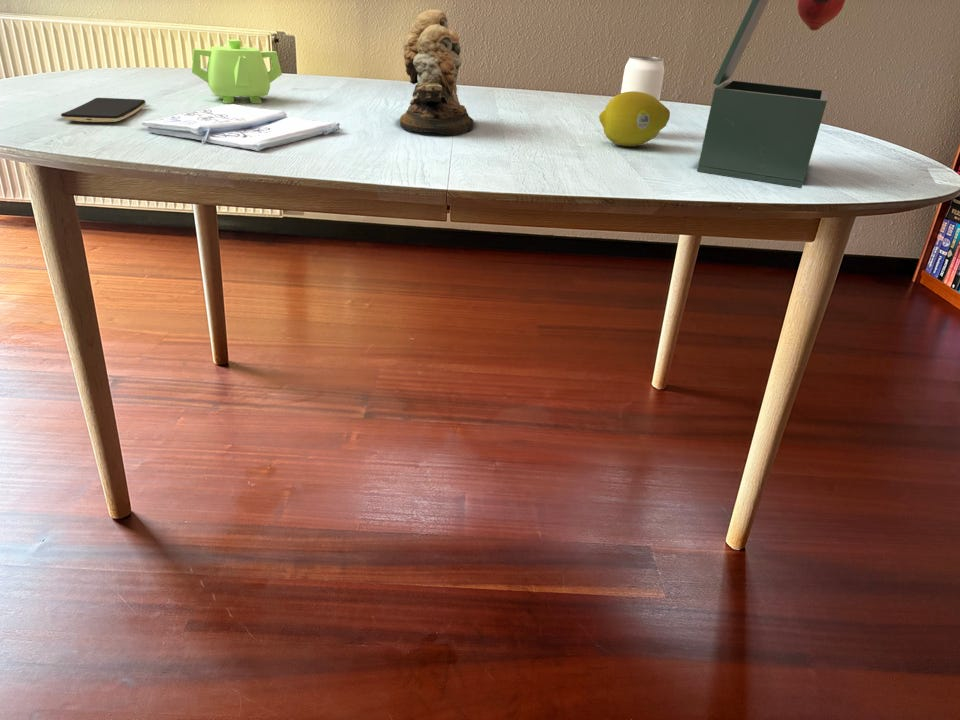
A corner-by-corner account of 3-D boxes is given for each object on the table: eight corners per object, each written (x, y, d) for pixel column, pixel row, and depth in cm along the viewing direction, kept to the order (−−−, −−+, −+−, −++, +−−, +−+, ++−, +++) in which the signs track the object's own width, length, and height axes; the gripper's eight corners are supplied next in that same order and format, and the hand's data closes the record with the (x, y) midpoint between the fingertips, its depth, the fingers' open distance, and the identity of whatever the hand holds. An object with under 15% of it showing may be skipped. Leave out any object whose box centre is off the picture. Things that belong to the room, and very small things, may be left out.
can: (608, 130, 118) (619, 54, 112) (640, 130, 120) (653, 56, 114) (626, 137, 113) (639, 59, 107) (660, 137, 115) (674, 60, 109)
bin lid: (784, -31, 92) (746, -45, 93) (776, -37, 81) (734, -53, 82) (731, 77, 100) (697, 63, 101) (718, 85, 89) (680, 69, 90)
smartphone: (59, 114, 95) (96, 97, 108) (61, 122, 95) (97, 104, 108) (116, 116, 96) (146, 99, 109) (117, 124, 96) (147, 106, 109)
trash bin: (805, 168, 100) (828, 90, 95) (801, 187, 89) (827, 100, 84) (711, 154, 105) (728, 79, 100) (696, 171, 94) (714, 88, 89)
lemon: (597, 148, 104) (605, 92, 100) (593, 138, 111) (600, 85, 107) (668, 154, 103) (679, 98, 100) (659, 143, 110) (669, 91, 106)
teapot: (191, 100, 118) (182, 37, 114) (233, 92, 128) (227, 35, 123) (248, 108, 115) (242, 44, 111) (287, 100, 125) (283, 41, 120)
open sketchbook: (238, 115, 109) (236, 101, 108) (344, 132, 102) (343, 117, 101) (140, 132, 93) (137, 116, 92) (256, 154, 87) (255, 137, 86)
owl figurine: (470, 140, 103) (476, 14, 95) (392, 134, 103) (392, 8, 95) (475, 120, 119) (481, 10, 111) (407, 115, 119) (408, 5, 111)
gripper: (897, -160, 79) (850, 4, 87) (891, -138, 91) (850, 4, 99) (827, -159, 82) (788, -1, 90) (830, -138, 93) (795, 1, 101)
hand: (821, 1), depth 94 cm, fingers closed on onion, 5 cm apart
